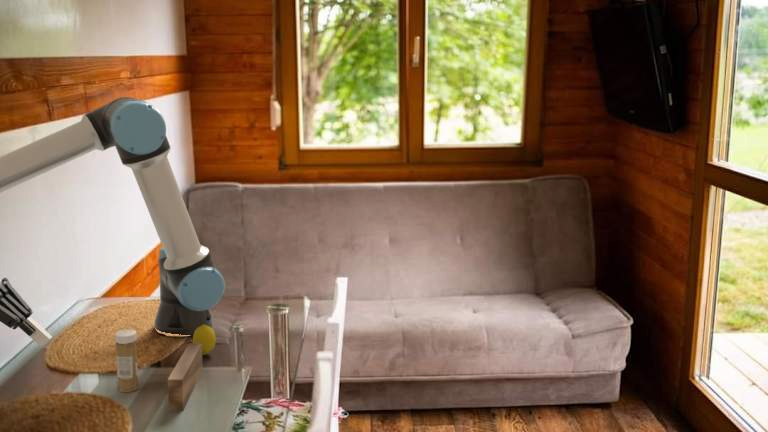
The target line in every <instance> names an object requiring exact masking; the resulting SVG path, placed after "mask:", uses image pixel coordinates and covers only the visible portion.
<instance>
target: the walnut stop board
mask: <svg viewBox="0 0 768 432" xmlns="http://www.w3.org/2000/svg"><path fill="white" fill-rule="evenodd" d="M202 374H203V354H202V344H201V343H193V342H191V343H190V342H189V343H188V344H187V345H186V348H185V350H184V351H183V352H182V355H181V356H180V358H179V360H178V361H177V363H176V364H175V366H174V368H173V370H172V371H171V373H170V374H169V376H168V378H167V393H168V394H167V395H168V399H167V401H168V410H169V411H184V409H185V408H186V406H187V404H188V402H189V400H190V397H191V395H192V393H193V391H194V389H195V387H197V386H196V385H197V384H198V381H199V380H200V378H201V375H202Z"/></svg>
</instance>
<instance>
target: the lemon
mask: <svg viewBox="0 0 768 432" xmlns="http://www.w3.org/2000/svg"><path fill="white" fill-rule="evenodd" d="M216 340H217V339H216V333H215V331H214V329H213V327H212V328H211V327H209V326H207V325H205V324H203V325H202V326H200V327H198V328H197V329H196V330H195V332H194V335H193V336H192V343H201V344H202V356H206V355H207V354H208V353H210V352H212V351H213V350H214V348H215V346H216V342H217V341H216Z"/></svg>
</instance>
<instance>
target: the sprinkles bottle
mask: <svg viewBox="0 0 768 432" xmlns="http://www.w3.org/2000/svg"><path fill="white" fill-rule="evenodd" d="M137 336H138V335H137V331H136V330H135V329H130V328H125V329H119V330H117V331H116V332H115V333H114V342H115V348H116V349H115V351H116V352H115V353H116V354H115V357H116V374H117V390H118V391H119V392H120V393H133V392H135V391H137V390H138V389H139V387H140V385H139V370H138V364H139V363H138V355H137V354H138V353H137V339H138V337H137Z"/></svg>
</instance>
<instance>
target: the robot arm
mask: <svg viewBox="0 0 768 432" xmlns="http://www.w3.org/2000/svg"><path fill="white" fill-rule="evenodd" d="M81 117H82V118H81V120H80V121H77V122H75V123H73V124H71V125H69V126H66V127H64V128H62V129H60V130H58V131H56V132H53V133H51V134H49V135H46V136H44V137H41V138H40V139H37V140H35V141H32V142H30V143H29V144H25V145H24V146H21V147H19V148H16V149H14V150H12V151H10V152H7V153H6V154H4V155H1V156H0V194H1V193H3V192H6V191H8V190H10V189H12V188H14V187H16V186H18V185H21V184H23V183H25V182H28V181H29V180H31V179H34V178H36V177H38V176H40V175H42V174H45V173H47V172H49V171H51V170H54V169H56V168H58V167H60V166H62V165H65V164H67V163H69V162H71V161H73V160H75V159H77V158H79V157H83V156H85V155H87V154H89V153H91V152H94V151H95V150H98V151H101V152H104V151H106V150H107V149H110V148H113V147H115V150H116V151H117V154H118V157H119V158H120V161H121V163H122V165H123V166H126V167H127V168H129V169H131V171H132V173H133V176H134V178H135V180H136V183H137V186H138V188H139V190H140V194H141V196H142V198H143V201H144V203H145V206H146V209H147V210H148V213H149V215H150V218H151V220H152V223H153V226H154V228H155V230H156V233H157V236H158V238H159V241H160V243H161V246H162V247H161V248H160V249H159V251H158V258H157V260H158V270H159V271H158V272H159V273H158V274H159V295H160V296H159V297H160V301H159V306H158V307H157V308H158V309H157V313H156V315H155V318H154V329H155V328H156V329H157V330H159V331H161V332H165V333H171V334H179V335H180V334H181V335H194V332H195V330H196V329H197V328H198V327H200V326H202V325H203V324H205V325H207V326H209V327H211V328H212V329H213V317H212V314H211V311H210V309H211V308H213V307H215V306H216V305H217V304H218V303H219V302H220V301H221V299H222V297H223V295H224V292H225V290H226V282H225V279H224V276H223V275H222V274H221V272H220V270H219V269H217V267H216V264H215V262H214V260H213V259H214V258H213V257H212V254H211V251H210V249H209V248H208V246H207V247H206V246H204V245H202V244H201V242H200V241H199V237H198V235H197V233H196V229H195V227H194V224H193V221H192V219H191V216H190V214H189V211H188V209H187V206H186V203H185V201H184V198H183V195H182V193H181V190H180V187H179V186H178V183H177V180H176V177H175V174H174V172H173V169H172V167H171V164H170V161H169V159H168V155H169V153H170V152H171V145H170V143H169V140H168V137H167V125H166V121H165V119H164V117H163V114H162V113H161V111H160V110H159V109H158V108H156V107H155V106H154V105H153V104H151V103H149V102H147V101H145V100H141V99H137V98H135V97H131V96H130V97H128V96H123V97H119V98H115V99H113V100H111V101H109V102H107V103H105V104H104V105H101V106H99V107H98V108H96V109H94V110H92V111H89V112H88V113H85V114H83V116H81ZM33 313H34V312H33V310H32V308H31V306H29V304H28V303H27V302H26V301H25V299H24V298H22V296H21V295H20V294H19V293H18V292H17V290H16V289H14V287H13V286H12V284H11V282H10V281H9V278H7V277H3V278H2V279H0V323H2V324H3V325H5V326H7V327H8V328H9V329H13V330H16V329H18V328H19V329H20V330H22V331H23V332H24V334H26V335H27V336H28V337H29V338H31V339H32V340H33V341H34V343H36V344H37V345H39V347H41V348H42V347H43V346H45V344H46V343H48V342H49V341H50V340H51V338H53V336H52V335H51V334H50V333H49V332H48V331H47V330H46V329H45V328H43V327H42V326H41V325H40V324H39V323H38V322H37V321H36V320H34V318H32V316H31V315H32V314H33Z"/></svg>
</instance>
